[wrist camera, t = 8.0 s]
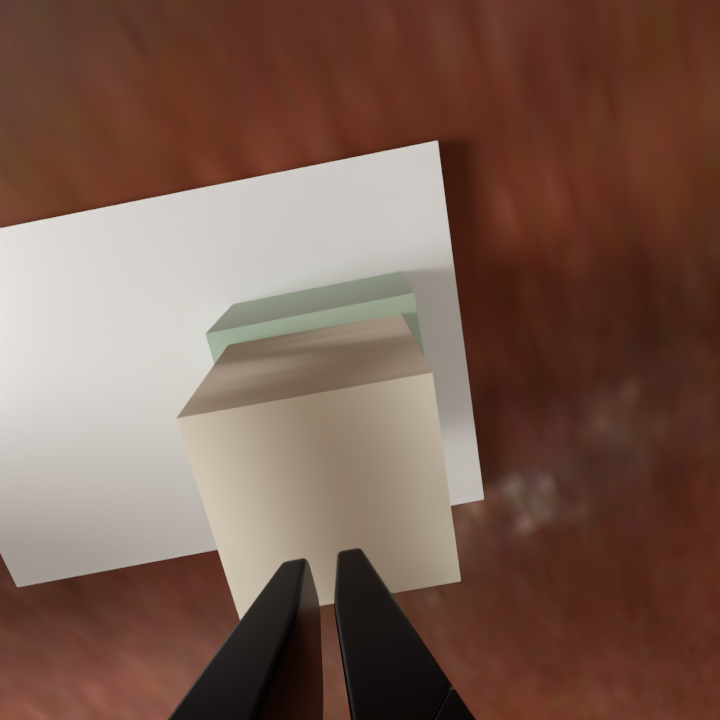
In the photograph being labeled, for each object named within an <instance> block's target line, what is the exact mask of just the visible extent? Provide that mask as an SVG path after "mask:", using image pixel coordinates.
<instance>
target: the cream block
mask: <svg viewBox="0 0 720 720" xmlns="http://www.w3.org/2000/svg"><path fill="white" fill-rule="evenodd" d="M176 420H177V423H178V426H179V429H180V432H181V435H182V439H183V442H184V445H185V448H186V451H187V454H188V458H189V461H190V464H191V467H192V470H193V473H194V476H195V480H196V483H197V486H198V489H199V492H200V495H201V499H202V502H203V505H204V508H205V511H206V514H207V518H208V521H209V524H210V527H211V530H212V533H213V536H214V540H215V543H216V546H217V549H218V552H219V555H220V559H221V562H222V565H223V568H224V571H225V574H226V578H227V581H228V584H229V587H230V590H231V593H232V596H233V600H234V603H235V606H236V609H237V612H238V615H239V619H240V620H241V619H242V617H243V616H244V614H245V613H246V612H247V610H248V609H249V608H250V606H251V605H252V604H253V602H254V601H255V599H256V598H257V597H258V595H259V594H260V593H261V591H262V590H263V588H264V587H265V586H266V584H267V583H268V582H269V580H270V579H271V578H272V576H273V575H274V573H275V572H276V571H277V569H278V568H279V567H280V565H281V564H282V563H283V562H286V561H290V560H295V559H301V558H305V559H307V561H308V562H309V565H310V568H311V572H312V576H313V579H314V583H315V587H316V591H317V594H318V599H319V606H321V605H327V604H333V603H334V595H335V579H336V564H337V555H338V553H339V552H340V551H343V550H349V549H354V548H361V549H362V550H363V552H364V553H365V555H366V556H367V558H368V559H369V561H370V562H371V564H372V565H373V567H374V568H375V570H376V571H377V573H378V574H379V576H380V577H381V579H382V580H383V582H384V583H385V585H386V586H387V588H388V589H389V591H390V592H391V593H396V592H402V591H408V590H414V589H419V588H425V587H431V586H437V585H442V584H448V583H454V582H460V581H461V578H460V570H459V563H458V556H457V548H456V541H455V534H454V526H453V519H452V512H451V504H450V497H449V490H448V482H447V475H446V468H445V460H444V453H443V446H442V438H441V431H440V424H439V416H438V409H437V402H436V394H435V387H434V380H433V373H432V371H431V369H430V367H429V365H428V363H427V361H426V359H425V358H424V356H423V354H422V352H421V350H420V348H419V346H418V345H417V343H416V341H415V339H414V337H413V335H412V333H411V331H410V330H409V328H408V326H407V324H406V322H405V320H404V318H403V316H402V315H401V314H396V315H391V316H385V317H380V318H374V319H368V320H363V321H357V322H352V323H346V324H341V325H335V326H330V327H324V328H318V329H313V330H307V331H302V332H296V333H291V334H285V335H280V336H274V337H268V338H263V339H257V340H252V341H246V342H241V343H235V344H230V345H228V346H227V347H226V349H225V350H224V351H223V353H222V354H221V356H220V357H219V358H218V360H217V361H216V363H215V364H214V366H213V367H212V368H211V370H210V371H209V373H208V374H207V375H206V377H205V378H204V380H203V381H202V383H201V384H200V385H199V387H198V388H197V390H196V391H195V392H194V394H193V395H192V397H191V398H190V400H189V401H188V402H187V404H186V405H185V407H184V408H183V409H182V411H181V412H180V414H179V415H178V416H177V418H176Z"/></svg>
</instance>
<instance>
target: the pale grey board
mask: <svg viewBox="0 0 720 720" xmlns="http://www.w3.org/2000/svg"><path fill="white" fill-rule="evenodd" d="M394 272H398V273H399V274H400V275H401V276H402V278H403V279H404V280H405V282H406V283H407V284H408V285H409V287H410V288H411V289H412V291H413V292H414V295H415V301H416V308H417V314H418V320H419V327H420V333H421V339H422V346H423V352H424V358H425V359H426V361H427V363H428V365H429V367H430V369H431V371H432V373H433V380H434V387H435V394H436V402H437V409H438V416H439V424H440V431H441V438H442V446H443V453H444V460H445V468H446V475H447V482H448V490H449V497H450V504H451V506H452V505H457V504H462V503H468V502H473V501H478V500H484V494H483V486H482V479H481V471H480V463H479V455H478V448H477V440H476V432H475V425H474V417H473V409H472V401H471V394H470V386H469V378H468V370H467V363H466V355H465V347H464V340H463V332H462V324H461V316H460V309H459V301H458V293H457V286H456V278H455V270H454V262H453V255H452V247H451V239H450V232H449V224H448V216H447V208H446V201H445V193H444V185H443V177H442V170H441V162H440V154H439V147H438V141H433V142H428V143H423V144H418V145H413V146H408V147H403V148H398V149H393V150H388V151H383V152H378V153H373V154H368V155H363V156H358V157H353V158H348V159H343V160H338V161H333V162H328V163H323V164H318V165H313V166H308V167H303V168H298V169H293V170H288V171H283V172H278V173H273V174H268V175H263V176H258V177H253V178H248V179H243V180H238V181H233V182H228V183H223V184H218V185H213V186H208V187H203V188H198V189H193V190H188V191H184V192H179V193H174V194H169V195H164V196H159V197H154V198H149V199H144V200H139V201H134V202H129V203H124V204H119V205H114V206H109V207H104V208H99V209H94V210H89V211H84V212H79V213H74V214H69V215H64V216H59V217H54V218H49V219H44V220H39V221H34V222H29V223H24V224H19V225H14V226H9V227H4V228H0V554H1V556H2V558H3V560H4V562H5V564H6V566H7V568H8V570H9V572H10V574H11V576H12V578H13V580H14V582H15V584H16V586H17V587H22V586H28V585H33V584H38V583H44V582H49V581H54V580H59V579H65V578H70V577H75V576H81V575H86V574H91V573H97V572H102V571H107V570H112V569H118V568H123V567H128V566H134V565H139V564H144V563H150V562H155V561H160V560H165V559H171V558H176V557H181V556H187V555H192V554H197V553H203V552H208V551H213V550H218V549H217V546H216V543H215V540H214V536H213V533H212V530H211V527H210V524H209V521H208V518H207V514H206V511H205V508H204V505H203V502H202V499H201V495H200V492H199V489H198V486H197V483H196V480H195V476H194V473H193V470H192V467H191V464H190V461H189V458H188V454H187V451H186V448H185V445H184V442H183V439H182V435H181V432H180V429H179V426H178V423H177V420H176V418H177V416H178V415H179V414H180V412H181V411H182V409H183V408H184V407H185V405H186V404H187V402H188V401H189V400H190V398H191V397H192V395H193V394H194V392H195V391H196V390H197V388H198V387H199V385H200V384H201V383H202V381H203V380H204V378H205V377H206V375H207V374H208V373H209V371H210V370H211V368H212V367H213V366H214V361H213V358H212V354H211V351H210V348H209V344H208V341H207V337H206V332H207V331H208V330H209V329H210V328H211V327H212V326H213V325H214V324H215V323H216V322H217V321H218V319H219V318H220V317H221V316H222V315H223V314H224V313H225V312H226V311H227V310H228V309H229V308H230V306H231V305H232V304H236V303H241V302H246V301H252V300H257V299H262V298H267V297H272V296H277V295H282V294H287V293H292V292H297V291H302V290H308V289H313V288H318V287H323V286H328V285H333V284H338V283H343V282H348V281H353V280H358V279H363V278H369V277H374V276H379V275H384V274H389V273H394Z"/></svg>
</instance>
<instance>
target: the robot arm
mask: <svg viewBox="0 0 720 720" xmlns="http://www.w3.org/2000/svg"><path fill="white" fill-rule="evenodd" d="M334 609H335V618H336V624H337V631H338V637H339V644H340V650H341V657H342V663H343V670H344V676H345V683H346V690H347V696H348V703H349V709H350V716H351V720H476V719H475V718H474V716H473V715H472V714H471V712H470V711H469V709H468V708H467V706H466V705H465V703H464V702H463V700H462V699H461V697H460V696H459V694H458V693H457V691H456V690H455V689H453V686H452V684H451V683H450V681H449V680H448V678H447V677H446V675H445V674H444V672H443V671H442V669H441V668H440V666H439V665H438V663H437V662H436V660H435V659H434V657H433V656H432V654H431V653H430V651H429V649H428V648H427V646H426V645H425V643H424V642H423V640H422V639H421V637H420V636H419V634H418V633H417V631H416V630H415V628H414V627H413V625H412V624H411V622H410V621H409V619H408V618H407V616H406V615H405V613H404V612H403V610H402V609H401V607H400V606H399V604H398V603H397V601H396V600H395V598H394V597H393V595H392V594H391V592H390V591H389V589H388V588H387V586H386V585H385V583H384V582H383V580H382V579H381V577H380V576H379V574H378V573H377V571H376V570H375V568H374V567H373V565H372V564H371V562H370V561H369V559H368V558H367V556H366V555H365V553H364V552H363V550H362V549H361V548H354V549H349V550H343V551H340V552H339V553H338V555H337V564H336V579H335V595H334ZM168 720H323V672H322V649H321V625H320V606H319V599H318V594H317V591H316V587H315V583H314V579H313V576H312V572H311V568H310V565H309V562H308V561H307V559H305V558H301V559H295V560H290V561H286V562H283V563H282V564H281V565H280V567H279V568H278V569H277V571H276V572H275V573H274V575H273V576H272V578H271V579H270V580H269V582H268V583H267V584H266V586H265V587H264V588H263V590H262V591H261V593H260V594H259V595H258V597H257V598H256V599H255V601H254V602H253V604H252V605H251V606H250V608H249V609H248V610H247V612H246V613H245V614H244V616H243V617H242V619H241V620H240V621H239V623H238V624H237V625H236V627H235V628H234V629H233V631H232V632H231V634H230V635H229V636H228V638H227V639H226V640H225V642H224V643H223V645H222V646H221V647H220V649H219V650H218V651H217V653H216V654H215V655H214V657H213V658H212V660H211V661H210V662H209V664H208V665H207V666H206V668H205V669H204V670H203V672H202V673H201V675H200V676H199V677H198V679H197V680H196V681H195V683H194V684H193V686H192V687H191V688H190V690H189V691H188V692H187V694H186V695H185V696H184V698H183V699H182V701H181V702H180V703H179V705H178V706H177V707H176V709H175V710H174V711H173V713H172V714H171V716H170V717H169V718H168Z"/></svg>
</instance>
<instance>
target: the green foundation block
mask: <svg viewBox="0 0 720 720" xmlns="http://www.w3.org/2000/svg"><path fill="white" fill-rule="evenodd" d="M396 314H401V315H402V316H403V318H404V320H405V322H406V324H407V326H408V328H409V330H410V331H411V333H412V335H413V337H414V339H415V341H416V343H417V345H418V346H419V348H420V350H421V352H422V354H423V356H424V352H423V346H422V339H421V333H420V327H419V320H418V314H417V308H416V301H415V295H414V292H413V291H412V289H411V288H410V287H409V285H408V284H407V283H406V282H405V280H404V279H403V278H402V276H401V275H400V274H399V273H398V272H394V273H389V274H384V275H379V276H374V277H369V278H363V279H358V280H353V281H348V282H343V283H338V284H333V285H328V286H323V287H318V288H313V289H308V290H302V291H297V292H292V293H287V294H282V295H277V296H272V297H267V298H262V299H257V300H252V301H246V302H241V303H236V304H232V305H231V306H230V308H229V309H228V310H227V311H226V312H225V313H224V314H223V315H222V316H221V317H220V318H219V319H218V321H217V322H216V323H215V324H214V325H213V326H212V327H211V328H210V329H209V330H208V331H207V332H206V337H207V341H208V344H209V348H210V351H211V354H212V358H213V361H214V364H215V363H216V361H217V360H218V358H219V357H220V356H221V354H222V353H223V351H224V350H225V349H226V347H227V346H228V345H230V344H235V343H241V342H246V341H252V340H257V339H263V338H268V337H274V336H280V335H285V334H291V333H296V332H302V331H307V330H313V329H318V328H324V327H330V326H335V325H341V324H346V323H352V322H357V321H363V320H368V319H374V318H380V317H385V316H391V315H396Z"/></svg>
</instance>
